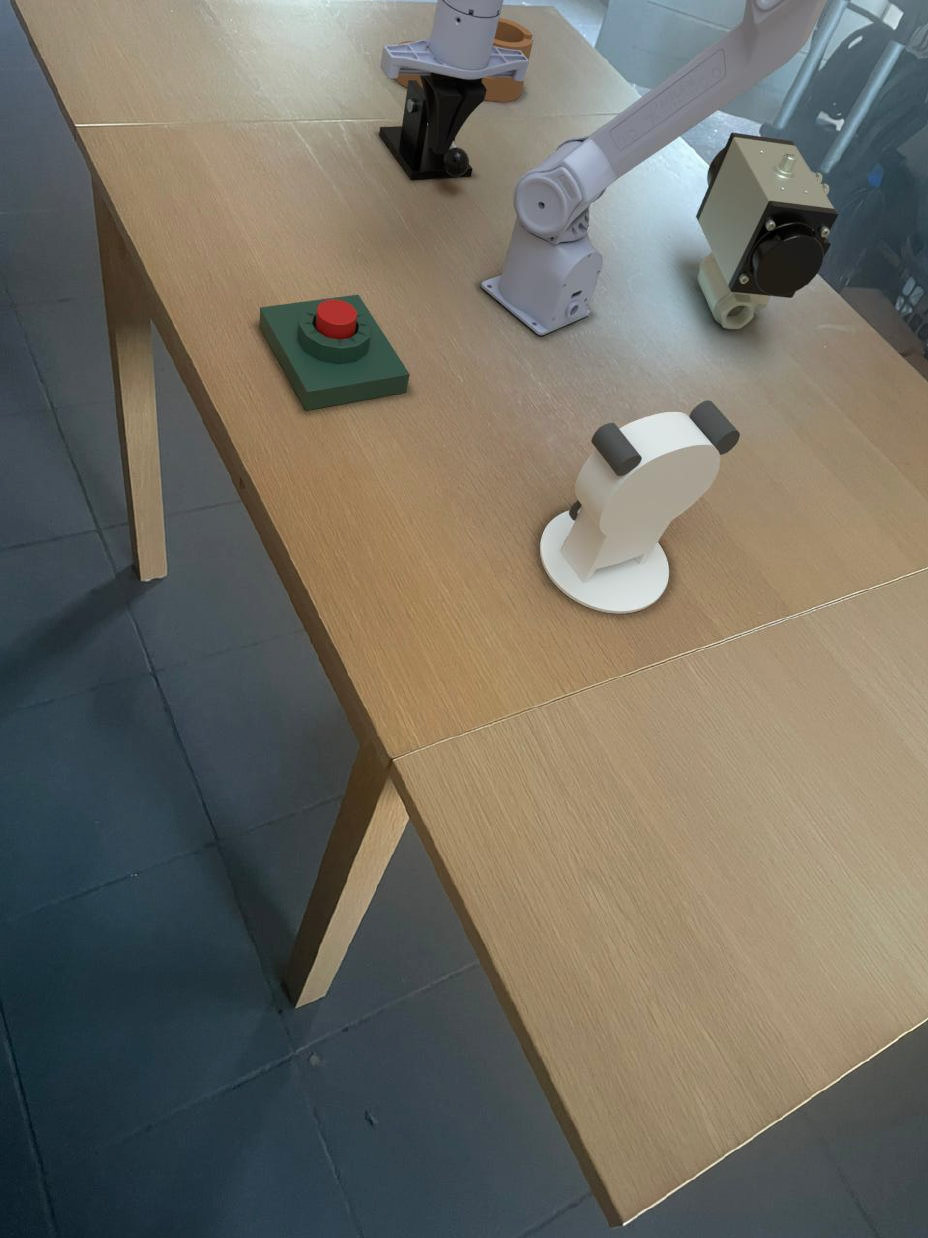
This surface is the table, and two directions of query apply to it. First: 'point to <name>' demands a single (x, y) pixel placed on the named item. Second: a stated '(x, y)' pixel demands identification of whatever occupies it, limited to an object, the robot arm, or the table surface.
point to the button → (336, 319)
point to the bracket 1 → (497, 87)
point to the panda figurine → (633, 506)
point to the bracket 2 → (415, 139)
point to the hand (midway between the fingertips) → (437, 148)
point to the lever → (455, 161)
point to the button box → (332, 355)
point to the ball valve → (760, 226)
